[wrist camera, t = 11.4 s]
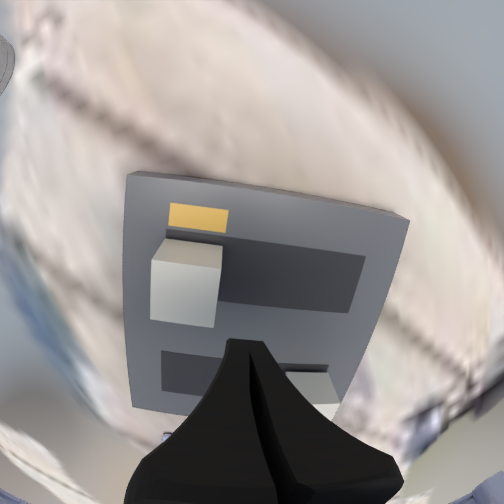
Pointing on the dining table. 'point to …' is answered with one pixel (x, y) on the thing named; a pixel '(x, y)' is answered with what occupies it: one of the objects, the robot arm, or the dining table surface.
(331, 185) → the dining table surface
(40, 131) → the dining table surface
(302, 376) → the tab far
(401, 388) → the dining table surface
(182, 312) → the tab near
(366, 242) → the switch box
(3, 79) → the electronic device
